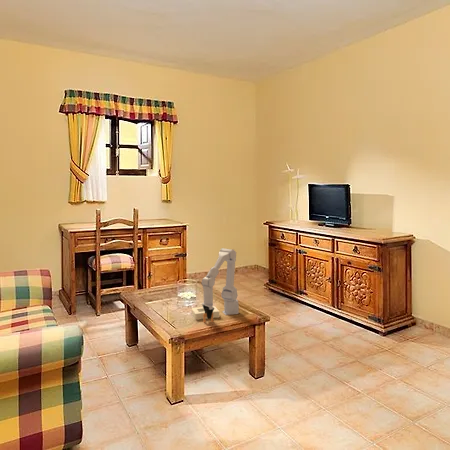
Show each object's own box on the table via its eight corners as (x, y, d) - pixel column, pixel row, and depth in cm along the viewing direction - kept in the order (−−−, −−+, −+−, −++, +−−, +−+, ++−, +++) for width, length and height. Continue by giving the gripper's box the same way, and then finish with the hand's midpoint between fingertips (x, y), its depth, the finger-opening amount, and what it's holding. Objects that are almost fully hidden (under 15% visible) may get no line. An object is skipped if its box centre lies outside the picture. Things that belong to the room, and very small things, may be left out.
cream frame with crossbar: (214, 311, 270) (214, 303, 269) (219, 317, 258) (219, 308, 258) (191, 313, 265) (191, 305, 265) (195, 319, 254) (195, 311, 253)
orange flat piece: (212, 321, 251) (212, 312, 251) (213, 321, 250) (213, 313, 250) (203, 321, 250) (203, 313, 249) (203, 322, 249) (203, 314, 248)
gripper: (199, 293, 254) (199, 314, 255) (204, 300, 240) (204, 321, 242) (209, 292, 256) (210, 313, 258) (215, 299, 242) (216, 320, 244)
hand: (208, 317), depth 250 cm, fingers open, 4 cm apart
